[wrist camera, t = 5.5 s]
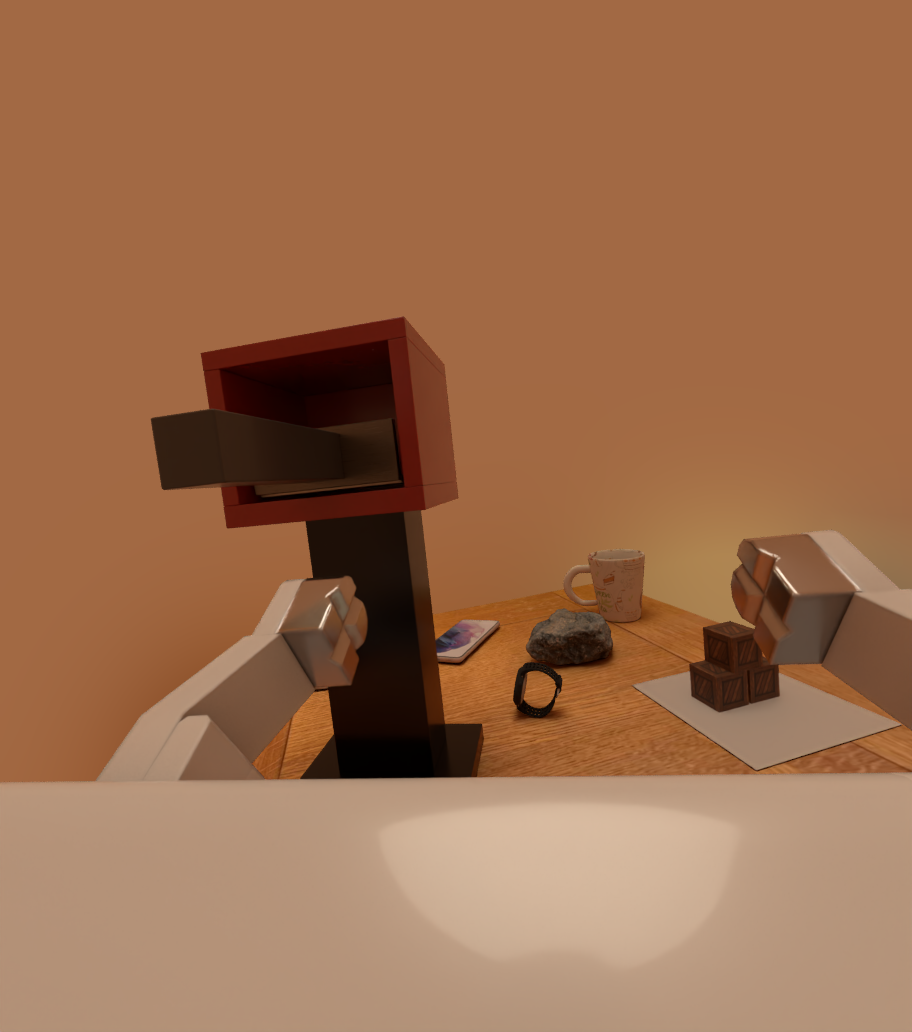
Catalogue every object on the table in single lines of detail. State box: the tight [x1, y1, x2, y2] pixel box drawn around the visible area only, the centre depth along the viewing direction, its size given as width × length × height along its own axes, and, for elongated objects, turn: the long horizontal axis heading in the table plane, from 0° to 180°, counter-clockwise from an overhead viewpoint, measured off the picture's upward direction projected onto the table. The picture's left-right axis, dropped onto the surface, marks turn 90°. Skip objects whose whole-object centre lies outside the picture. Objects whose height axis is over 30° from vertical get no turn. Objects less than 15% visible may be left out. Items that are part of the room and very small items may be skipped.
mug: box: [564, 549, 645, 622], centre depth 70 cm, size 8×13×10 cm, turn 72°
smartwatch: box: [513, 662, 562, 718], centre depth 44 cm, size 4×5×5 cm
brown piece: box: [151, 409, 404, 498], centre depth 28 cm, size 21×10×4 cm, turn 170°
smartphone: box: [435, 620, 500, 663], centre depth 65 cm, size 7×1×15 cm
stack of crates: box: [632, 621, 902, 770], centre depth 42 cm, size 15×15×7 cm
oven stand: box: [201, 317, 484, 779], centre depth 35 cm, size 12×14×34 cm
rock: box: [526, 609, 613, 665], centre depth 57 cm, size 12×10×5 cm
